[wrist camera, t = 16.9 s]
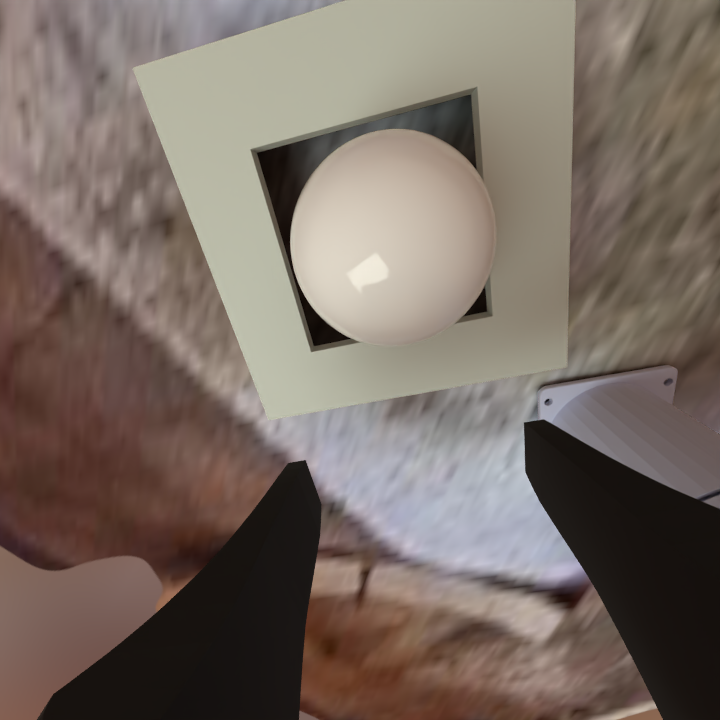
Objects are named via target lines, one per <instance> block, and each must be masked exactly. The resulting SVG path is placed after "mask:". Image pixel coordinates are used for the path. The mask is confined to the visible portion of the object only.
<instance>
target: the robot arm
mask: <svg viewBox="0 0 720 720" xmlns="http://www.w3.org/2000/svg"><path fill="white" fill-rule="evenodd" d="M677 375H678V370H677V369H676V368H674V367H672V366H670V365H664V366H658V367H652V368H646V369H641V370H635V371H629V372H623V373H617V374H612V375H606V376H600V377H594V378H588V379H583V380H577V381H571V382H565V383H559V384H554V385H548V386H544V387H542V388H541V389H540V390H539V391H538V420H537V421H531V422H525V423H524V436H525V471H526V474H527V476H528V479H529V481H530V483H531V485H532V487H533V489H534V491H535V493H536V495H537V497H538V499H539V501H540V503H541V504H542V506H543V507H544V509H545V511H546V512H547V514H548V515H549V517H550V518H551V520H552V522H553V523H554V525H555V526H556V528H557V529H558V531H559V532H560V534H561V535H562V537H563V538H564V540H565V542H566V543H567V545H568V546H569V548H570V549H571V551H572V552H573V554H574V555H575V557H576V558H577V560H578V562H579V563H580V565H581V566H582V568H583V569H584V571H585V572H586V574H587V575H588V577H589V579H590V580H591V582H592V584H593V585H594V587H595V589H596V590H597V592H598V594H599V596H600V598H601V600H602V601H603V603H604V605H605V607H606V609H607V611H608V613H609V614H610V616H611V618H612V620H613V622H614V624H615V626H616V628H617V629H618V631H619V633H620V635H621V637H622V639H623V641H624V643H625V645H626V647H627V649H628V651H629V653H630V655H631V656H632V658H633V660H634V662H635V664H636V666H637V668H638V670H639V672H640V674H641V676H642V678H643V680H644V682H645V684H646V686H647V688H648V690H649V692H650V694H651V696H652V698H653V700H654V702H655V704H656V706H657V708H658V710H659V712H660V714H661V716H662V718H663V720H720V434H718V433H716V432H715V431H713V430H712V429H710V428H708V427H707V426H705V425H704V424H702V423H700V422H699V421H697V420H696V419H694V418H692V417H691V416H689V415H688V414H686V413H684V412H683V411H681V410H680V409H678V408H676V407H675V406H673V405H672V404H673V398H674V392H675V386H676V381H677ZM666 379H667V381H666V382H664V381H665V380H666ZM546 399H550V400H549V401H548V402H546V403H544V402H545V400H546ZM320 527H321V502H320V499H319V496H318V494H317V491H316V488H315V485H314V482H313V480H312V477H311V474H310V471H309V469H308V466H307V463H306V460H304V461H298V462H292V463H288V464H287V466H286V467H285V468H284V469H283V471H282V472H281V474H280V475H279V476H278V478H277V479H276V480H275V482H274V483H273V485H272V486H271V487H270V489H269V490H268V491H267V493H266V494H265V495H264V497H263V498H262V499H261V501H260V502H259V503H258V505H257V506H256V507H255V509H254V510H253V511H252V513H251V514H250V515H249V516H248V518H247V519H246V520H245V521H244V523H243V524H242V525H241V526H240V527H239V529H238V530H237V531H236V532H235V534H234V535H233V536H232V537H231V538H230V540H229V541H228V542H227V543H226V544H225V545H224V546H223V548H222V549H221V550H220V551H219V552H218V553H217V554H216V555H215V556H214V557H213V559H212V560H211V561H210V562H209V563H208V564H207V565H206V566H205V567H204V568H203V569H202V570H201V571H200V572H199V573H198V574H197V575H196V576H195V577H194V578H193V579H192V580H191V581H190V582H189V583H188V584H187V585H186V586H185V587H184V588H183V589H181V590H180V591H179V592H178V593H177V594H176V595H175V596H174V597H173V598H172V599H171V600H170V601H169V602H168V603H167V604H166V605H165V606H163V607H162V608H161V609H160V610H159V611H158V612H157V613H156V614H155V615H153V616H152V617H151V618H150V619H149V620H147V621H146V622H145V623H144V624H143V625H142V626H141V627H139V628H138V629H137V630H136V631H135V632H133V633H132V634H131V635H130V636H128V637H127V638H126V639H125V640H124V641H122V642H121V643H120V644H119V645H118V646H116V647H115V648H114V649H112V650H111V651H110V652H109V653H108V654H106V655H105V656H104V657H102V658H101V659H100V660H98V661H97V662H96V663H94V664H93V665H92V666H90V667H89V668H88V669H87V670H85V671H84V672H82V673H81V674H80V675H79V676H77V677H76V678H75V679H73V680H72V681H71V682H70V683H68V684H67V685H65V686H64V687H63V688H61V689H60V690H58V691H57V692H56V693H54V694H53V696H52V697H51V699H50V700H49V702H48V704H47V705H46V707H45V708H44V710H43V711H42V713H41V714H40V716H39V717H38V719H37V720H299V708H300V692H301V677H302V662H303V650H304V637H305V626H306V618H307V611H308V604H309V598H310V593H311V587H312V581H313V575H314V569H315V563H316V557H317V551H318V545H319V538H320Z"/></svg>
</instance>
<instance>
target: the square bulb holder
mask: <svg viewBox="0 0 720 720" xmlns="http://www.w3.org/2000/svg"><path fill="white" fill-rule="evenodd" d="M575 10H576V0H345V1H342V2H339V3H336V4H333V5H329V6H326V7H323V8H320V9H317V10H314V11H311V12H307V13H304V14H301V15H298V16H295V17H292V18H288V19H285V20H282V21H279V22H276V23H273V24H270V25H266V26H263V27H260V28H257V29H254V30H251V31H247V32H244V33H241V34H238V35H235V36H232V37H229V38H225V39H222V40H219V41H216V42H213V43H210V44H206V45H203V46H200V47H197V48H194V49H191V50H188V51H184V52H181V53H178V54H175V55H172V56H169V57H166V58H162V59H159V60H156V61H153V62H150V63H147V64H143V65H140V66H137V67H134V68H133V71H134V73H135V76H136V79H137V81H138V84H139V86H140V89H141V92H142V94H143V97H144V99H145V102H146V104H147V107H148V110H149V112H150V115H151V117H152V120H153V123H154V125H155V128H156V130H157V133H158V135H159V138H160V141H161V143H162V146H163V148H164V151H165V154H166V156H167V159H168V161H169V164H170V167H171V169H172V172H173V174H174V177H175V179H176V182H177V185H178V187H179V190H180V192H181V195H182V198H183V200H184V203H185V205H186V208H187V210H188V213H189V216H190V218H191V221H192V223H193V226H194V229H195V231H196V234H197V236H198V239H199V242H200V244H201V247H202V249H203V252H204V254H205V257H206V260H207V262H208V265H209V267H210V270H211V273H212V275H213V278H214V280H215V283H216V285H217V288H218V291H219V293H220V296H221V298H222V301H223V304H224V306H225V309H226V311H227V314H228V317H229V319H230V322H231V324H232V327H233V329H234V332H235V335H236V337H237V340H238V342H239V345H240V348H241V350H242V353H243V355H244V358H245V360H246V363H247V366H248V368H249V371H250V373H251V376H252V379H253V381H254V384H255V386H256V389H257V391H258V394H259V397H260V399H261V402H262V404H263V407H264V410H265V412H266V415H267V417H268V420H273V419H278V418H284V417H290V416H295V415H301V414H307V413H312V412H318V411H323V410H329V409H335V408H340V407H346V406H352V405H357V404H363V403H369V402H374V401H380V400H386V399H391V398H397V397H402V396H408V395H414V394H419V393H425V392H431V391H436V390H442V389H448V388H453V387H459V386H465V385H470V384H476V383H482V382H487V381H493V380H498V379H504V378H510V377H515V376H521V375H527V374H532V373H538V372H544V371H549V370H555V369H561V368H566V367H567V349H568V307H569V264H570V222H571V180H572V137H573V95H574V52H575ZM467 95H471V100H472V114H473V127H474V141H475V154H476V168H477V172H478V173H479V175H480V176H481V178H482V180H483V181H484V183H485V185H486V187H487V190H488V192H489V195H490V197H491V200H492V204H493V208H494V212H495V218H496V227H497V242H496V252H495V257H494V262H493V266H492V269H491V272H490V275H489V277H488V280H487V282H486V284H485V289H486V303H487V312H483V313H478V314H473V315H468V316H463V317H461V318H460V319H459V320H458V321H457V322H456V323H454V324H453V325H452V326H451V327H449V328H448V329H446V330H445V331H443V332H441V333H440V334H438V335H436V336H434V337H432V338H430V339H427V340H424V341H422V342H418V343H415V344H411V345H405V346H396V347H384V346H375V345H370V344H366V343H362V342H359V341H356V340H354V339H348V340H343V341H338V342H333V343H328V344H323V345H318V346H314V345H313V342H312V339H311V335H310V332H309V328H308V325H307V322H306V318H305V315H304V311H303V308H302V305H301V301H300V298H299V294H298V291H297V288H296V284H295V281H294V277H293V274H292V271H291V267H290V264H289V261H288V257H287V254H286V250H285V247H284V244H283V240H282V237H281V233H280V230H279V227H278V223H277V220H276V216H275V213H274V210H273V206H272V203H271V199H270V196H269V193H268V189H267V186H266V182H265V179H264V176H263V172H262V169H261V165H260V162H259V159H258V155H257V153H258V152H262V151H265V150H269V149H273V148H276V147H280V146H284V145H287V144H291V143H295V142H298V141H302V140H306V139H309V138H313V137H317V136H320V135H324V134H328V133H331V132H335V131H339V130H342V129H346V128H350V127H353V126H357V125H361V124H364V123H368V122H372V121H375V120H379V119H383V118H386V117H390V116H394V115H397V114H401V113H405V112H408V111H412V110H416V109H419V108H423V107H427V106H430V105H434V104H438V103H441V102H445V101H449V100H452V99H456V98H460V97H463V96H467Z"/></svg>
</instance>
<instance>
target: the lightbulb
mask: <svg viewBox="0 0 720 720" xmlns="http://www.w3.org/2000/svg"><path fill="white" fill-rule="evenodd" d="M496 242H497V227H496V218H495V212H494V208H493V204H492V200H491V197H490V195H489V192H488V190H487V187H486V185H485V183H484V181H483V180H482V178H481V176H480V175H479V173H478V172H477V170H476V169H475V168H474V166H473V165H472V164H471V163H470V162H469V161H468V159H467V158H466V157H465V156H464V155H463V154H461V153H460V152H459V151H458V150H457V149H455V148H454V147H453V146H451V145H450V144H448V143H447V142H445V141H443V140H441V139H439V138H437V137H435V136H433V135H430V134H427V133H424V132H420V131H416V130H410V129H384V130H378V131H374V132H370V133H367V134H364V135H361V136H359V137H356V138H354V139H352V140H350V141H348V142H346V143H345V144H343V145H341V146H340V147H339V148H337V149H336V150H334V151H333V152H332V153H331V154H330V155H328V156H327V157H326V158H325V159H324V160H323V161H322V162H321V163H320V164H319V166H318V167H317V168H316V169H315V170H314V172H313V173H312V175H311V176H310V177H309V179H308V181H307V182H306V184H305V186H304V187H303V189H302V191H301V194H300V196H299V198H298V201H297V204H296V207H295V210H294V214H293V218H292V224H291V233H290V249H291V258H292V264H293V268H294V272H295V275H296V278H297V281H298V283H299V286H300V288H301V290H302V292H303V294H304V296H305V297H306V299H307V301H308V302H309V304H310V305H311V307H312V308H313V309H314V310H315V312H316V313H317V314H318V315H319V316H320V317H321V318H322V319H323V320H324V321H325V322H326V323H327V324H329V325H330V326H331V327H333V328H334V329H335V330H337V331H338V332H340V333H342V334H343V335H345V336H347V337H349V338H351V339H354V340H356V341H359V342H362V343H366V344H370V345H375V346H384V347H396V346H405V345H411V344H415V343H418V342H422V341H424V340H427V339H430V338H432V337H434V336H436V335H438V334H440V333H441V332H443V331H445V330H446V329H448V328H449V327H451V326H452V325H453V324H454V323H456V322H457V321H458V320H459V319H460V318H461V317H462V316H463V315H464V314H465V313H466V312H467V311H468V310H469V309H470V308H471V306H472V305H473V304H474V303H475V301H476V300H477V298H478V297H479V295H480V294H481V292H482V290H483V288H484V286H485V284H486V282H487V280H488V277H489V275H490V272H491V269H492V266H493V262H494V257H495V252H496Z"/></svg>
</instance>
